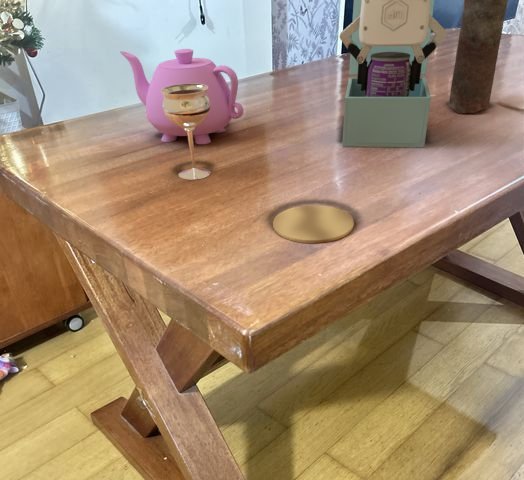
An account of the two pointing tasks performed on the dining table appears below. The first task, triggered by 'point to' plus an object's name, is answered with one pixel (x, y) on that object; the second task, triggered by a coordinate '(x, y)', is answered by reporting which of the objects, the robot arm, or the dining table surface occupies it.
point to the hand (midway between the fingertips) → (387, 88)
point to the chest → (386, 118)
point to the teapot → (183, 73)
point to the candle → (477, 54)
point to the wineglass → (187, 116)
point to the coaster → (313, 224)
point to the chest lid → (386, 48)
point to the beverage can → (388, 75)
